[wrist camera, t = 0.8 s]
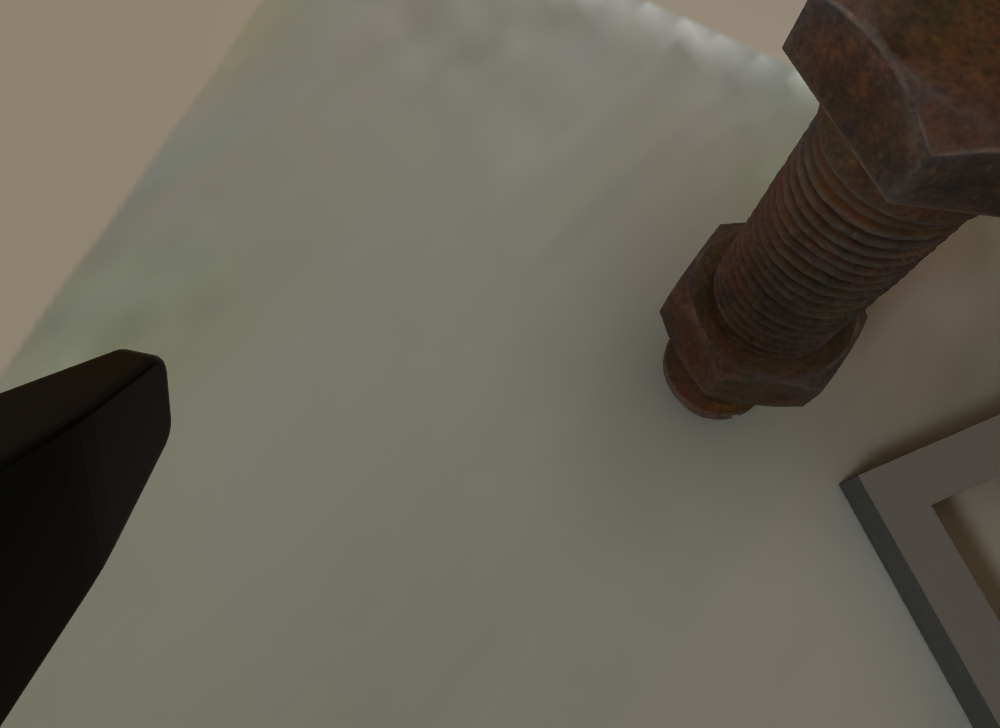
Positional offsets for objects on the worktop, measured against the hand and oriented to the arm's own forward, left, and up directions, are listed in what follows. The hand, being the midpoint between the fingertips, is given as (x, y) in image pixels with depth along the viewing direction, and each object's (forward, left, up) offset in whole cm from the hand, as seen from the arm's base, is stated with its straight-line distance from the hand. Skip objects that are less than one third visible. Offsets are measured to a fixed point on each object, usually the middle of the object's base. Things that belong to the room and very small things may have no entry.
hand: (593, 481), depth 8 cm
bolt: (+4, -8, -15) cm, 18 cm away
